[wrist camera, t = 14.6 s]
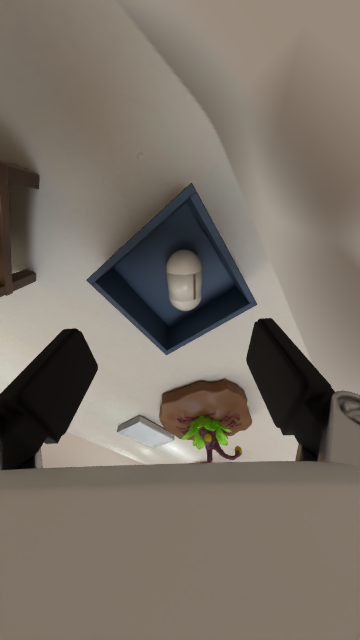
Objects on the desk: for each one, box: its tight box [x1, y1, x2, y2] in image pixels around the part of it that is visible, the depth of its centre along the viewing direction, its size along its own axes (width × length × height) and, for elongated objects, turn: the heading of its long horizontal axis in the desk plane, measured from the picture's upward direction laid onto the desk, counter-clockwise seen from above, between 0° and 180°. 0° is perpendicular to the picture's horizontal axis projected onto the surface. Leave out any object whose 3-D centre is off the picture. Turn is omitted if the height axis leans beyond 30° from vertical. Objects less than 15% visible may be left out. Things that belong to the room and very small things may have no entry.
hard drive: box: [117, 416, 174, 448], centre depth 42 cm, size 2×8×12 cm
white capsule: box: [166, 249, 202, 311], centre depth 19 cm, size 7×4×4 cm, turn 3°
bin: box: [87, 183, 257, 355], centre depth 19 cm, size 12×12×6 cm
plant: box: [159, 380, 252, 463], centre depth 33 cm, size 20×20×11 cm
